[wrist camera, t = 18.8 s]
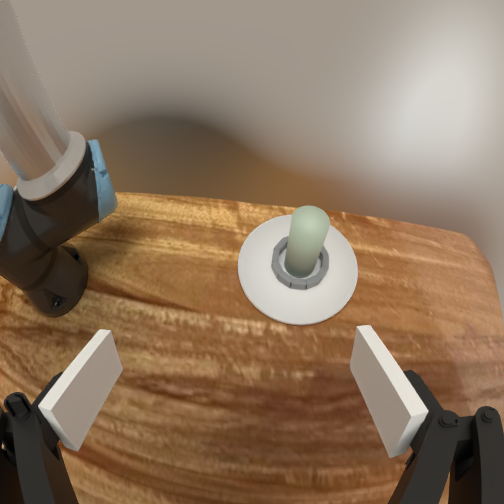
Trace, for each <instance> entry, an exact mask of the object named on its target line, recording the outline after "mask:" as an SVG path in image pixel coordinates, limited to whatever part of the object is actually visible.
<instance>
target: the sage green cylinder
mask: <svg viewBox="0 0 504 504" xmlns="http://www.w3.org/2000/svg"><path fill="white" fill-rule="evenodd" d="M329 227H330V220H329V217H328V215H327V214H326V213H325V212H324V211H323V210H321V209H320V208H318V207H315V206H303V207H300V208H298V209H297V210H295V211H294V213H293V215H292V219H291V225H290V231H289V237H288V243H287V249H286V255H285V261H284V266H285V269H286V271H287V272H288V274H290V275H291V276H293V277H295V278H306V277H308V276H309V275H311V274H312V272H313V270H314V268H315V265H316V263H317V260H318V257H319V255H320V252H321V249H322V247H323V244H324V241H325V239H326V236H327V233H328V230H329Z"/></svg>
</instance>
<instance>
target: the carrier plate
mask: <svg viewBox="0 0 504 504" xmlns="http://www.w3.org/2000/svg"><path fill="white" fill-rule="evenodd" d="M291 219H292V215H284V216H279V217H276V218H273V219H270V220H268V221H266V222H264V223H262V224H261V225H259V226H258V227H257V228H255V229H254V230H253V231H252V232H251V233H250V235H249V236H248V237H247V238H246V240H245V242H244V243H243V245H242V248H241V250H240V254H239V259H238V274H239V279H240V283H241V286H242V289H243V291H244V293H245V295H246V297H247V298H248V300H249V301H250V302H251V303H252V305H253V306H254V307H255V308H256V309H258V310H259V311H260V312H261V313H262V314H264V315H266V316H267V317H269V318H271V319H273V320H275V321H277V322H281V323H284V324H289V325H298V326H303V325H312V324H316V323H320V322H322V321H325V320H327V319H329V318H331V317H332V316H334V315H335V314H336V313H338V312H339V311H340V310H341V309H342V308H343V307H344V306H345V305H346V303H347V302H348V301H349V299H350V298H351V296H352V294H353V292H354V289H355V287H356V283H357V277H358V268H357V261H356V257H355V254H354V252H353V249H352V248H351V246H350V244H349V243H348V241H347V240H346V238H345V237H344V236H343V235H342V234H341V233H340V232H339V231H338V230H337V229H335V228H334V227H333V226H331V225H330V227H329V230H328V233H327V236H326V239H325V241H324V244H323V247H322V249H321V252H320V255H319V257H318V260H317V263H316V265H315V268H314V270H313V272H312V274H311V275H309V276H308V277H306V278H295V277H293V276H291V275H290V274H288V272H287V271H286V269H285V266H284V261H285V255H286V249H287V243H288V237H289V231H290V225H291Z"/></svg>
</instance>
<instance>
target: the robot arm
mask: <svg viewBox="0 0 504 504" xmlns="http://www.w3.org/2000/svg"><path fill="white" fill-rule="evenodd" d="M0 153H1V154H2V156H3V157H4V158H5V159H6V161H7V162H8V163H9V165H10V166H11V167H12V168H13V170H14V171H15V172H16V173H17V175H18V181H17V189H15V190H13V188H12V186H9V185H8V184H2V185H0V275H1V276H2V277H4V278H5V279H7V280H8V281H9V282H11V283H12V284H14V285H15V286H17V287H18V288H20V289H21V290H22V291H23V293H24V294H25V296H26V297H27V299H28V300H29V301H30V303H31V304H32V306H33V307H34V308H35V309H36V310H37V311H39V312H41V313H42V314H44V315H46V316H49V317H58V316H61V315H63V314H65V313H67V312H68V311H70V310H71V309H72V308H73V307H74V306H75V305H76V303H77V302H78V301H79V299H80V298H81V296H82V294H83V292H84V289H85V286H86V283H87V277H88V267H87V262H86V260H85V258H84V256H83V255H82V253H81V252H80V251H79V250H78V249H77V248H76V247H74V246H73V245H71V244H69V243H66V241H68V240H69V239H71V238H73V237H74V236H76V235H78V234H79V233H81V232H83V231H84V230H86V229H88V228H90V227H91V226H93V225H95V224H97V223H100V222H101V220H102V219H104V218H105V217H107V216H108V215H110V214H111V213H113V212H114V211H115V209H116V208H117V204H118V202H117V198H116V195H115V192H114V189H113V187H112V183H111V180H110V178H109V175H108V171H107V169H106V165H105V162H104V159H103V156H102V152H101V149H100V146H99V142H98V141H97V140H92V141H91V140H89V141H88V142H87V143H86V141H85V140H84V138H83V136H82V135H81V134H80V133H78V132H75V131H67V130H66V128H65V126H64V124H63V123H62V121H61V119H60V117H59V115H58V113H57V111H56V110H55V107H54V105H53V103H52V101H51V99H50V97H49V95H48V93H47V91H46V89H45V87H44V84H43V82H42V80H41V78H40V76H39V74H38V71H37V69H36V67H35V64H34V62H33V60H32V57H31V55H30V52H29V50H28V47H27V45H26V42H25V40H24V37H23V35H22V32H21V29H20V26H19V23H18V20H17V17H16V15H15V11H14V8H13V5H12V1H11V0H0ZM350 369H351V371H352V374H353V376H354V378H355V380H356V382H357V384H358V387H359V389H360V391H361V393H362V395H363V398H364V400H365V402H366V404H367V407H368V409H369V411H370V413H371V416H372V418H373V420H374V422H375V425H376V427H377V429H378V432H379V434H380V436H381V439H382V441H383V443H384V446H385V448H386V451H387V453H388V455H389V458H391V457H394V456H397V455H401V454H404V453H406V451H407V449H408V448H409V446H411V448H412V450H413V453H412V454H411V456H410V457H409V459H408V460H407V462H406V463H405V464H406V468H405V470H404V472H403V474H402V477H401V479H400V481H399V483H398V485H397V487H396V489H395V491H394V493H393V495H392V497H391V499H390V500H389V502H388V504H439V501H440V498H441V496H442V493H443V490H444V487H445V484H446V481H447V478H448V474H449V471H450V485H449V499H448V504H504V433H503V428H502V423H501V419H500V415H499V413H498V411H497V410H496V409H494V408H492V407H489V406H484V407H481V408H479V409H478V410H477V412H476V414H475V415H474V416H467V417H459V416H458V415H457V414H456V413H454V412H452V411H449V410H443V408H442V407H441V406H440V404H439V403H438V401H437V400H436V398H435V397H434V395H433V394H432V393H431V391H430V390H428V387H427V386H426V384H424V381H423V380H422V379H421V377H420V376H419V375H418V374H416V373H415V372H413V371H412V370H408V371H404V372H402V370H401V369H400V367H399V366H398V364H397V363H396V361H395V360H394V358H393V357H392V355H391V354H390V353H389V351H388V350H387V348H386V347H385V345H384V344H383V343H382V341H381V340H380V338H379V337H378V336H377V334H376V333H375V331H374V330H373V329H372V327H371V326H370V325H365V326H357V328H356V334H355V340H354V346H353V352H352V358H351V363H350ZM122 370H123V368H122V365H121V362H120V359H119V355H118V352H117V349H116V346H115V342H114V339H113V336H112V332H111V330H102V329H100V330H99V331H98V332H97V333H96V334H95V335H94V337H93V338H92V339H91V340H90V341H89V342H88V344H87V345H86V346H85V347H84V348H83V350H82V351H81V352H80V353H79V354H78V356H77V357H76V358H75V359H74V360H73V362H72V363H71V364H70V365H69V367H68V368H67V369H66V370H65V372H60V373H59V374H57V375H56V376H54V377H53V378H52V380H51V381H50V382H49V383H48V385H47V386H46V387H45V390H43V391H42V392H41V393H40V395H39V396H38V397H37V398H36V400H35V401H34V402H33V404H32V405H31V404H30V402H29V401H28V399H27V397H26V396H25V395H24V394H23V393H21V392H15V393H12V394H10V395H9V396H7V397H6V399H5V400H4V406H5V407H6V409H7V410H8V412H9V413H7V412H4V410H3V409H2V407H1V406H0V504H79V503H78V500H77V498H76V495H75V493H74V490H73V488H72V485H71V482H70V479H69V476H68V473H67V470H66V467H65V464H64V461H63V458H62V454H61V451H60V448H59V446H58V445H57V443H58V441H59V440H61V442H62V443H63V445H64V446H65V447H67V448H69V449H72V450H75V451H79V449H80V447H81V445H82V443H83V441H84V439H85V437H86V435H87V433H88V431H89V429H90V428H91V426H92V424H93V422H94V420H95V418H96V416H97V415H98V413H99V411H100V409H101V407H102V406H103V404H104V402H105V400H106V398H107V397H108V395H109V393H110V391H111V389H112V388H113V386H114V384H115V382H116V381H117V379H118V377H119V376H120V374H121V372H122ZM2 443H3V445H4V449H2Z"/></svg>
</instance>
